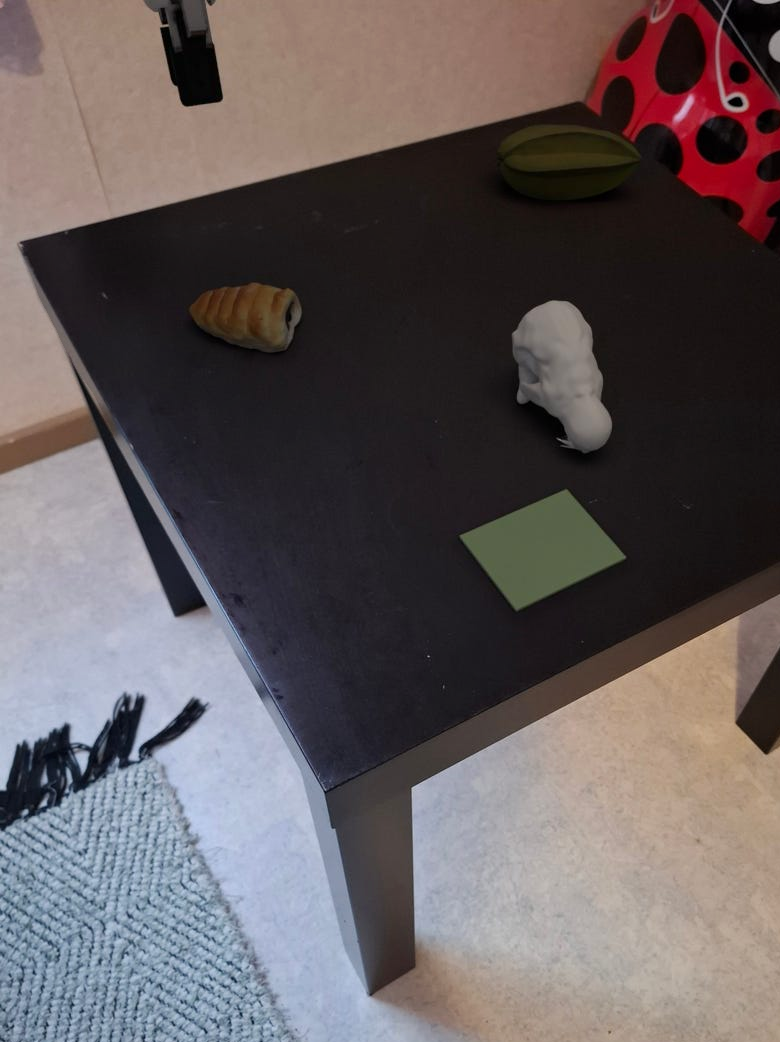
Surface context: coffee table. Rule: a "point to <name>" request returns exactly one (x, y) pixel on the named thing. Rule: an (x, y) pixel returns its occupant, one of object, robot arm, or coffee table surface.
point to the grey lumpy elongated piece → (562, 372)
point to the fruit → (565, 161)
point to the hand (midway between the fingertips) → (197, 90)
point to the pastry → (249, 315)
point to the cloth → (541, 549)
